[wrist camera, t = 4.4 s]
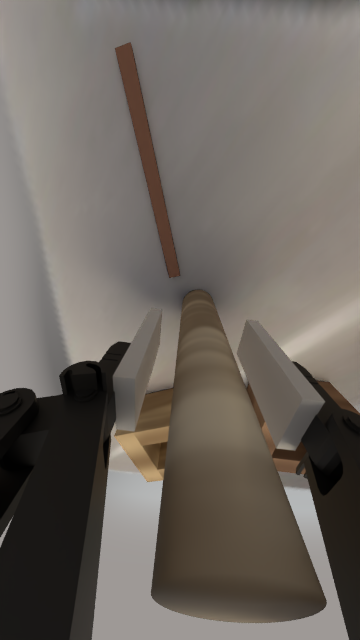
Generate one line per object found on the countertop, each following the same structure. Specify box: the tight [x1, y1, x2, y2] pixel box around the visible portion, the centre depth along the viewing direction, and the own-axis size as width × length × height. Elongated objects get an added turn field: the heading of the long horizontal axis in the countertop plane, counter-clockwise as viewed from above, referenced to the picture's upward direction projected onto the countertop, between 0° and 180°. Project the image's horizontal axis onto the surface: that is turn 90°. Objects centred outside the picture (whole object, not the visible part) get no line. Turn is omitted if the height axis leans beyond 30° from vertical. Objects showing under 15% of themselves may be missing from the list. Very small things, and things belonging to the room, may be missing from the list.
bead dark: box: [247, 381, 360, 474], centre depth 20 cm, size 9×9×5 cm
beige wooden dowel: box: [151, 290, 327, 623], centre depth 10 cm, size 3×3×16 cm
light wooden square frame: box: [114, 388, 173, 482], centre depth 22 cm, size 9×9×5 cm
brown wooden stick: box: [115, 43, 180, 278], centre depth 14 cm, size 14×1×1 cm, turn 12°
